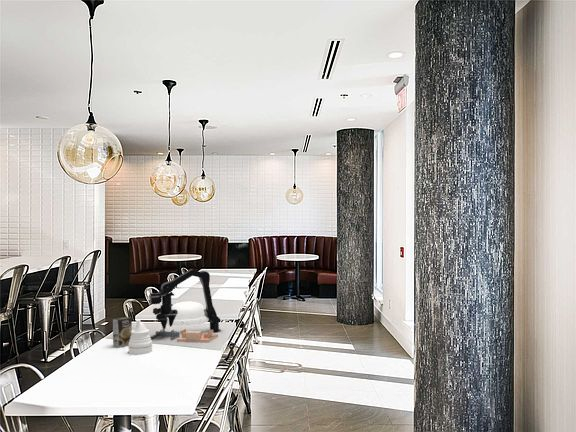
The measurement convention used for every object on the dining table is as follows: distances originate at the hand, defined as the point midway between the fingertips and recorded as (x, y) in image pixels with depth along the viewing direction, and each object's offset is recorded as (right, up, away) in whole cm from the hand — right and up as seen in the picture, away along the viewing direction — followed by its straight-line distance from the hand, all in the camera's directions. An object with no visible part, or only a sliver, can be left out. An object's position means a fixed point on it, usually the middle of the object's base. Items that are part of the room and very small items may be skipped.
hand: (167, 328), depth 350 cm
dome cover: (+4, -6, +49) cm, 50 cm away
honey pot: (-7, -6, -37) cm, 39 cm away
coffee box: (-22, -6, -22) cm, 31 cm away
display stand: (+20, -5, -9) cm, 23 cm away
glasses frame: (-1, -5, -4) cm, 7 cm away
